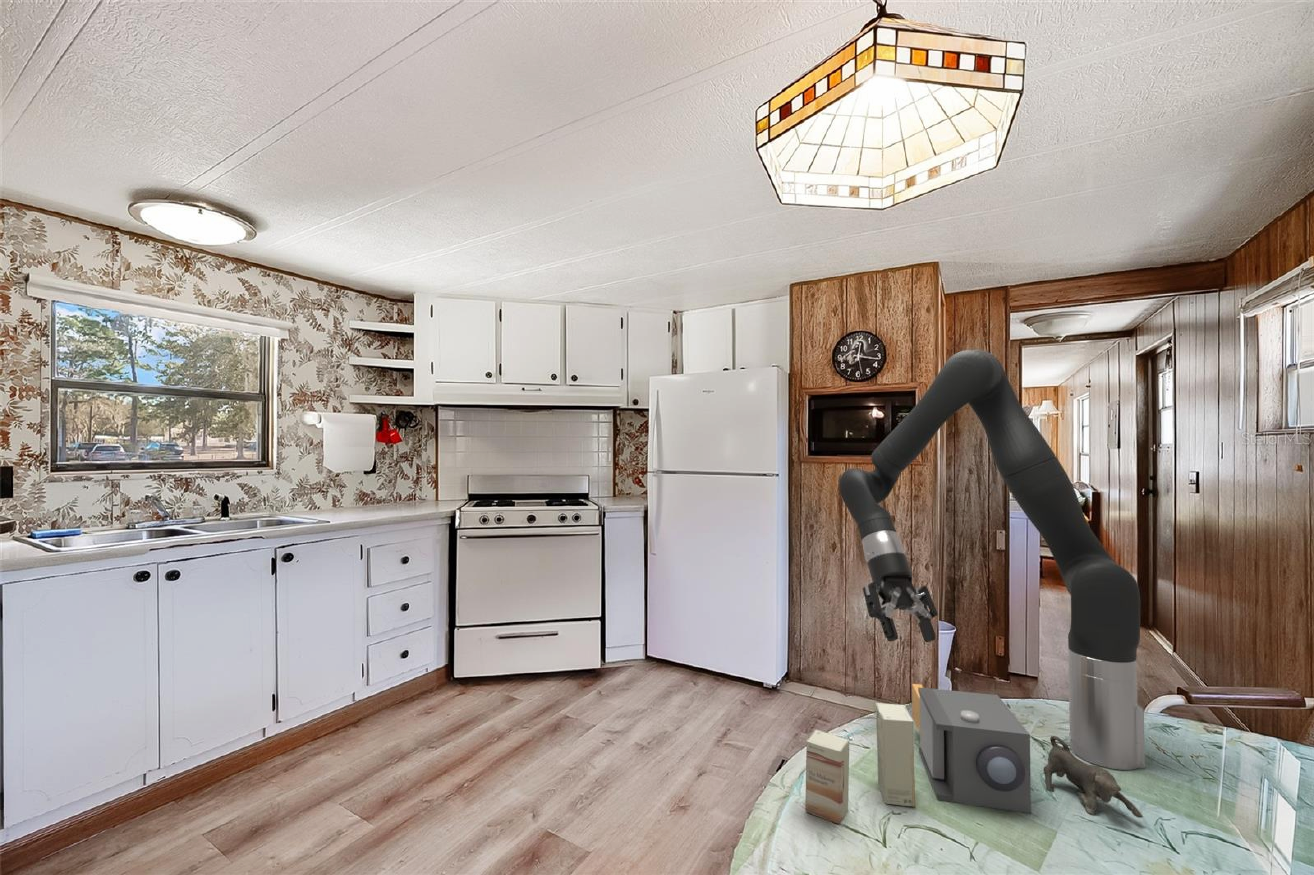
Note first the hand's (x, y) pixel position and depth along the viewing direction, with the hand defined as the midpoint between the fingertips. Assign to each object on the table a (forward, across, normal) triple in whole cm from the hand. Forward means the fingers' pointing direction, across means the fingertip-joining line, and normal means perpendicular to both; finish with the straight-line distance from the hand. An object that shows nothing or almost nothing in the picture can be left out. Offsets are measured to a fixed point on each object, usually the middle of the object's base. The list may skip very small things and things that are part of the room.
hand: (912, 640), depth 106 cm
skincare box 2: (+24, -15, -3) cm, 28 cm away
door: (+18, -3, +1) cm, 18 cm away
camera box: (+23, -2, -5) cm, 23 cm away
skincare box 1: (+25, -27, -3) cm, 37 cm away
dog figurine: (+27, +10, -13) cm, 32 cm away
